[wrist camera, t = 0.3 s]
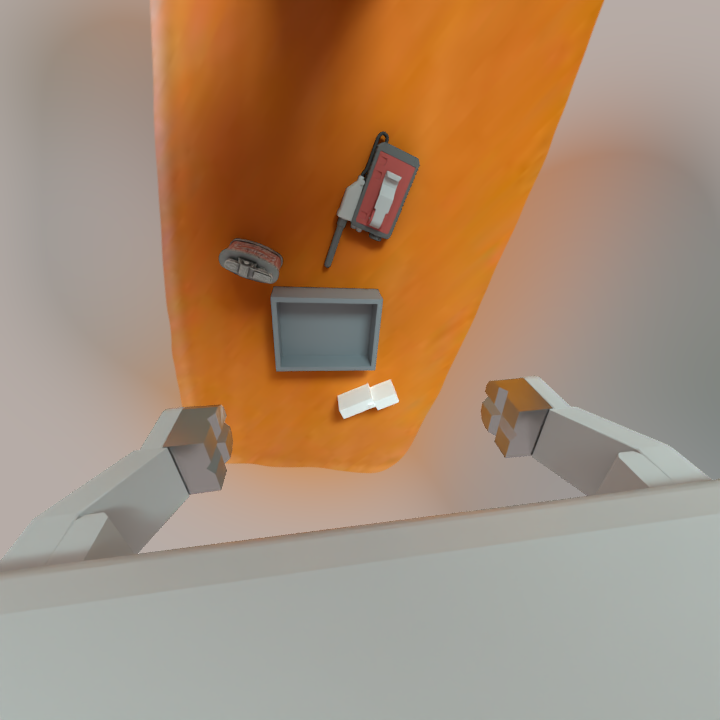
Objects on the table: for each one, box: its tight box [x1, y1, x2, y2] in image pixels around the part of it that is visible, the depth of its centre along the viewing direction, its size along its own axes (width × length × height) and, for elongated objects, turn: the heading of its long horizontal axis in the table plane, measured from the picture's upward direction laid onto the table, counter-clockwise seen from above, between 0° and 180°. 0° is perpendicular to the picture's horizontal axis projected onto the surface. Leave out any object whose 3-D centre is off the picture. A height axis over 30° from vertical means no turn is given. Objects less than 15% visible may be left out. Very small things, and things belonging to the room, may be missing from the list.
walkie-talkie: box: [324, 132, 420, 268], centre depth 48 cm, size 9×4×20 cm
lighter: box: [219, 238, 283, 284], centre depth 47 cm, size 8×3×10 cm, turn 67°
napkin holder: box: [338, 380, 399, 419], centre depth 66 cm, size 15×11×6 cm
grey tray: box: [271, 286, 383, 371], centre depth 57 cm, size 14×18×5 cm
